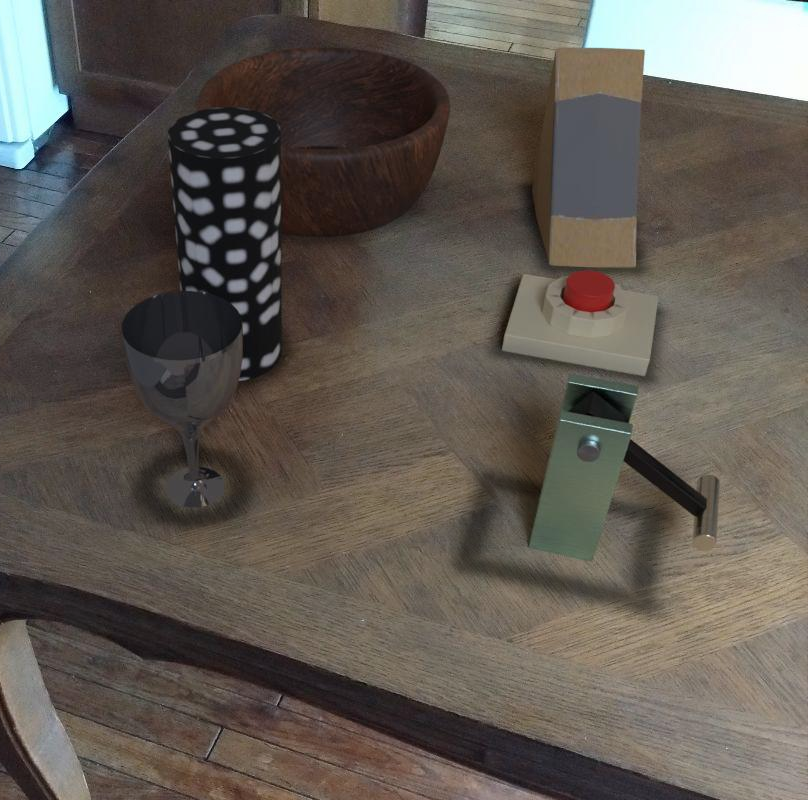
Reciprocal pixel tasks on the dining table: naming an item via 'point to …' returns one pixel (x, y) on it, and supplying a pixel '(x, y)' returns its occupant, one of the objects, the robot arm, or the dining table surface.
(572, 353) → the block
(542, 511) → the bracket
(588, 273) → the button
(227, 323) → the wine glass
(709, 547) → the lever
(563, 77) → the sandwich container
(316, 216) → the wooden bowl
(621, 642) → the dining table surface
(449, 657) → the dining table surface
